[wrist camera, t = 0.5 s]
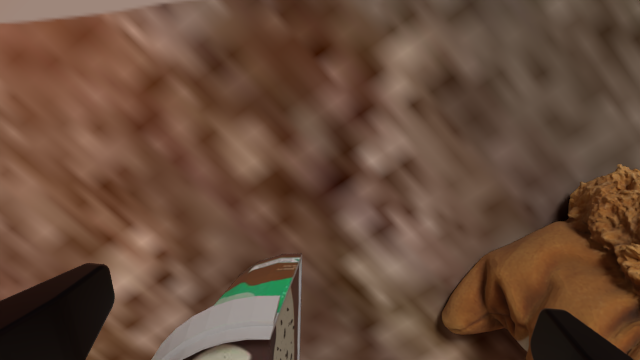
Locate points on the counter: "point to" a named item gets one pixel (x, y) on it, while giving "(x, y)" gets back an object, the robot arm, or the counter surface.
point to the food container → (246, 318)
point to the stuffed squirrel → (564, 271)
